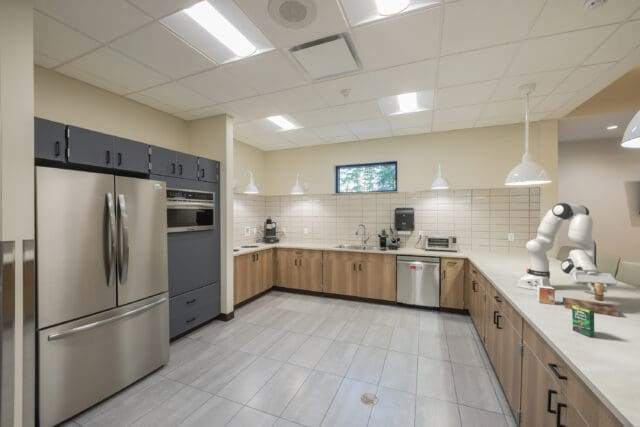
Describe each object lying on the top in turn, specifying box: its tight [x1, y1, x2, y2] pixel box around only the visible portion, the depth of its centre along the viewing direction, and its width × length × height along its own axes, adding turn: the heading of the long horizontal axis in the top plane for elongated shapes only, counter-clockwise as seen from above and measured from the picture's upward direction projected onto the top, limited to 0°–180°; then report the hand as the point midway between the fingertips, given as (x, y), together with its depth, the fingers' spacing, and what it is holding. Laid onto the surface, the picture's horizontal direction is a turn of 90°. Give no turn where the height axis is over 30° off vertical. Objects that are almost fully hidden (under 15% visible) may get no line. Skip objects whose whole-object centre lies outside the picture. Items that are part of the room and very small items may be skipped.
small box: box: [536, 285, 556, 306], centre depth 166 cm, size 8×6×10 cm
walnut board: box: [562, 296, 620, 318], centre depth 155 cm, size 22×12×4 cm, turn 52°
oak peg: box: [594, 283, 605, 302], centre depth 152 cm, size 4×4×10 cm
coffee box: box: [571, 305, 595, 338], centre depth 125 cm, size 8×3×13 cm, turn 6°
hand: (599, 291), depth 151 cm, fingers closed on oak peg, 3 cm apart
